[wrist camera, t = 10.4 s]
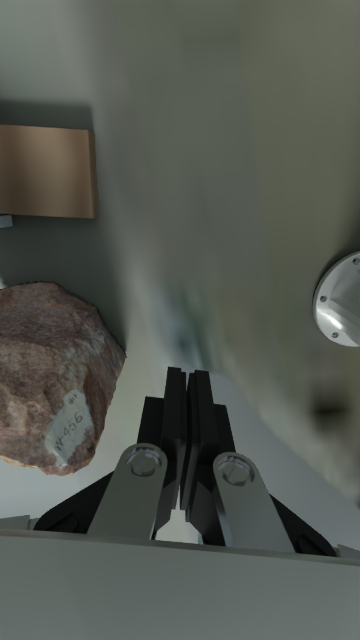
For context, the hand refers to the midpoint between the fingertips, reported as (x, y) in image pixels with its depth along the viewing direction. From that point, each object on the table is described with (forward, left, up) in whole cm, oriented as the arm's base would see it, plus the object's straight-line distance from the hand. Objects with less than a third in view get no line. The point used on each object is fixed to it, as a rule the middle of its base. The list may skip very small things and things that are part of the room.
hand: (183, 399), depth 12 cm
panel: (+16, -9, -26) cm, 32 cm away
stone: (+14, +8, -26) cm, 31 cm away
